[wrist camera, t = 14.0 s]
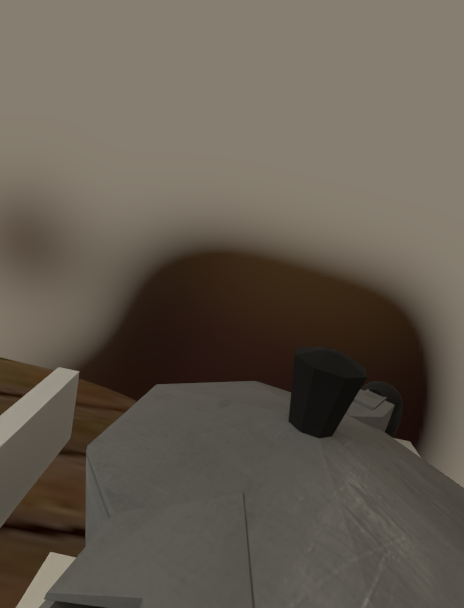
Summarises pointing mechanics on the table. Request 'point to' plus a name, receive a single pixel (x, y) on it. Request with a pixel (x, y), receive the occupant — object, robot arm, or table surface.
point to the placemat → (45, 580)
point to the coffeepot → (266, 501)
